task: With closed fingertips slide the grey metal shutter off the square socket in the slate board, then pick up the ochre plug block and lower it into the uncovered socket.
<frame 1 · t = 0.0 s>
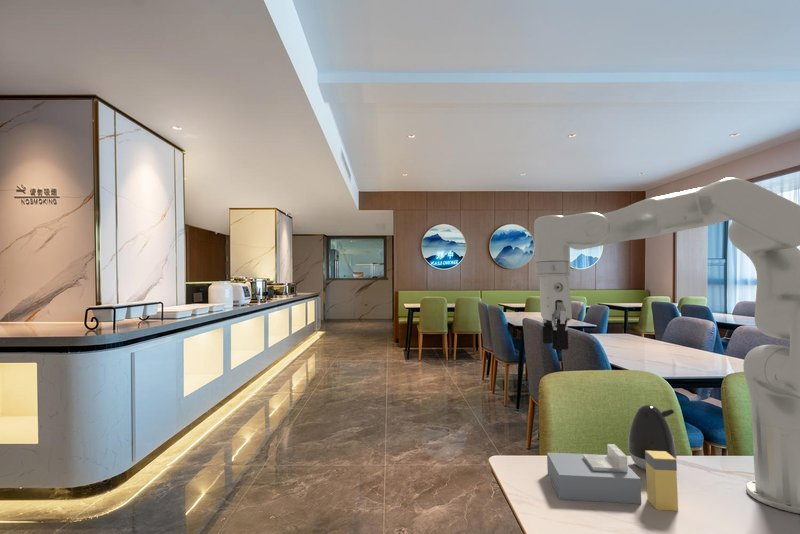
hand: (554, 346, 94), 31 cm above the table, tool pointing down, fingers open, 9 cm apart
shutter: (604, 457, 92), point 7 cm above the table, slide at 0.0 cm
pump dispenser: (652, 469, 101), on the table
socket board: (590, 487, 92), on the table
plug: (662, 505, 84), on the table
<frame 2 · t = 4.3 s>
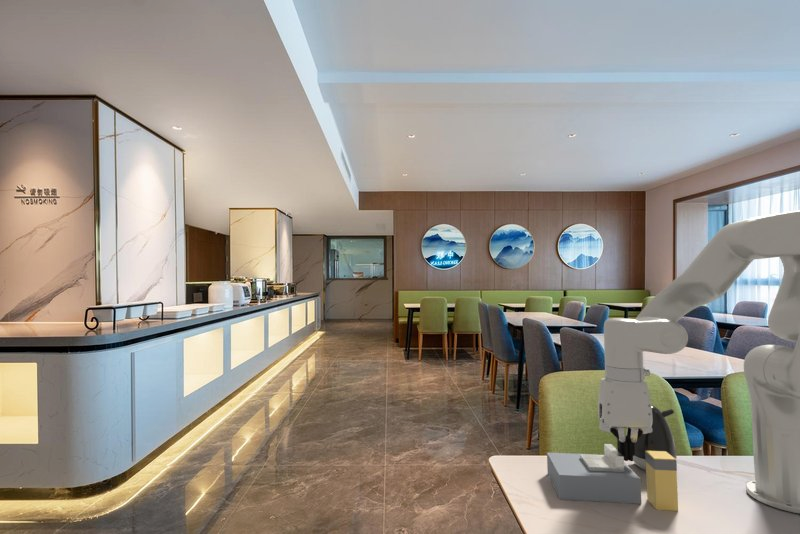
hand: (626, 458, 91), 7 cm above the table, tool pointing down, fingers closed
shutter: (600, 457, 92), point 7 cm above the table, slide at 0.7 cm, touching gripper
everything else where it was.
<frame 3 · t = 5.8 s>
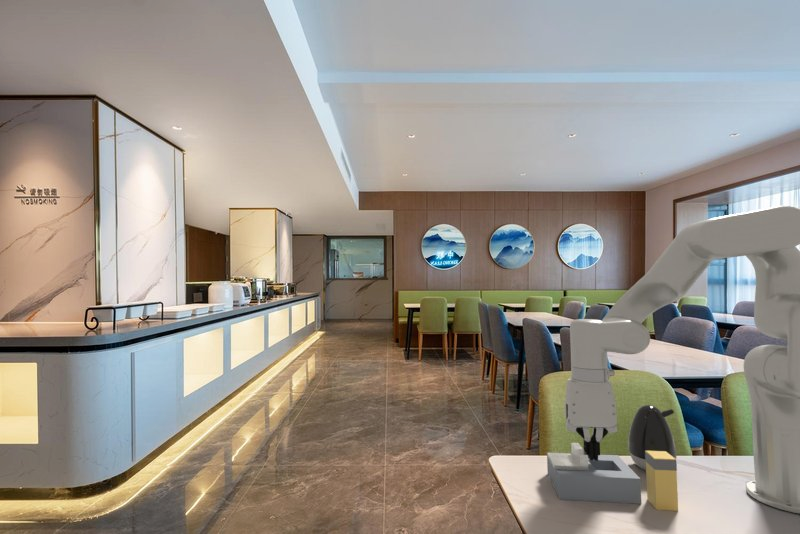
hand: (592, 457, 92), 6 cm above the table, tool pointing down, fingers closed
shutter: (566, 455, 93), point 7 cm above the table, slide at 7.9 cm, touching gripper
everything else where it was.
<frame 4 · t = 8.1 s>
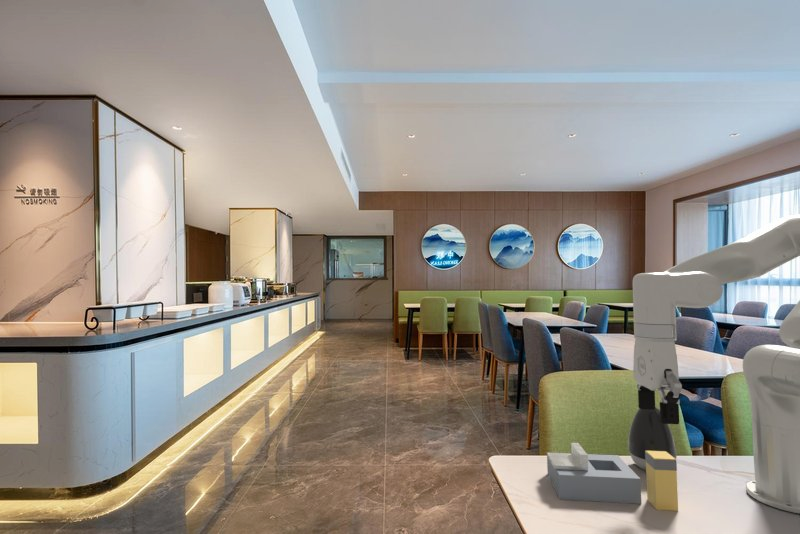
hand: (657, 415, 85), 18 cm above the table, tool pointing down, fingers open, 9 cm apart
shutter: (566, 455, 93), point 7 cm above the table, slide at 7.9 cm
everything else where it was.
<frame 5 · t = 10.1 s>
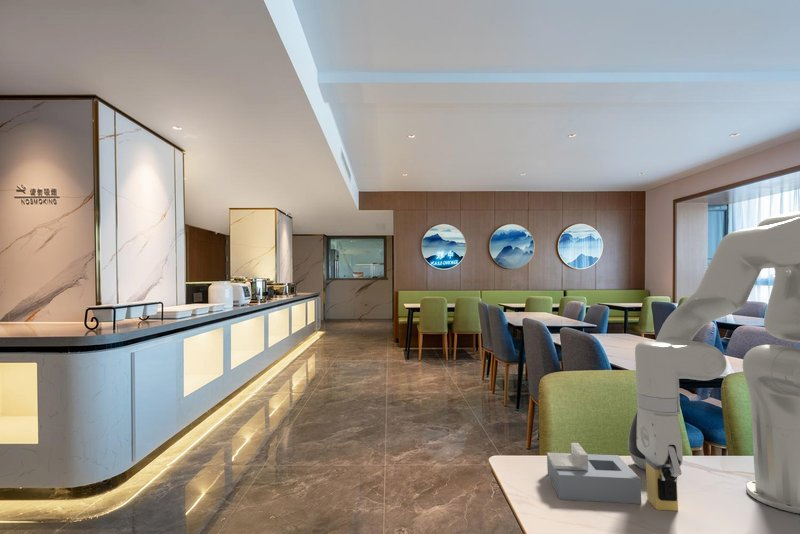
hand: (661, 493, 85), 2 cm above the table, tool pointing down, fingers closed on plug, 4 cm apart
plug: (662, 504, 84), on the table, touching gripper
everything else where it was.
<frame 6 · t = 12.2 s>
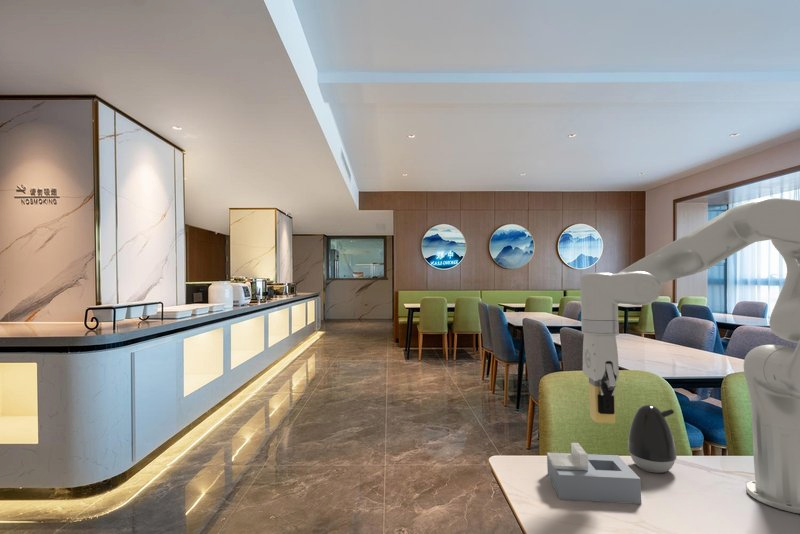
hand: (602, 409, 92), 17 cm above the table, tool pointing down, fingers closed on plug, 4 cm apart
plug: (602, 420, 92), point 15 cm above the table, touching gripper
everything else where it was.
when the fingers open (6 cm above the table, at t = 14.6 s): plug drops 3 cm, resting in socket board.
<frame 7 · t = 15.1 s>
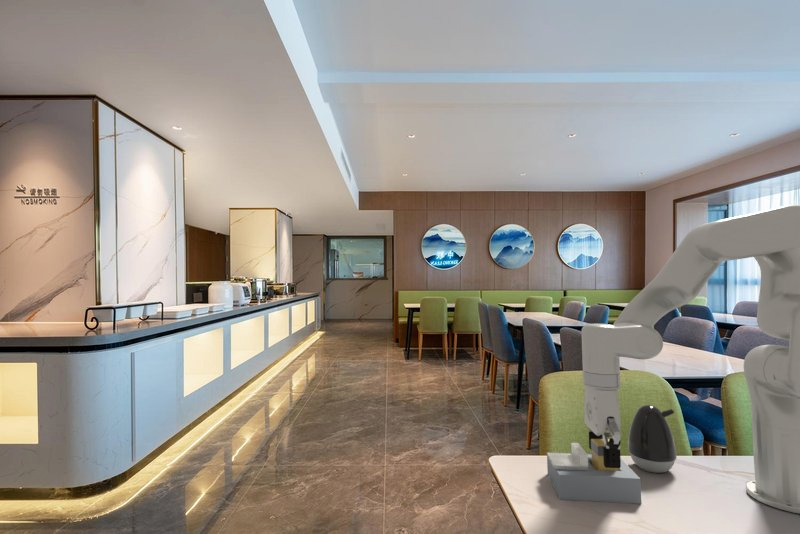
hand: (604, 457, 92), 7 cm above the table, tool pointing down, fingers open, 9 cm apart
plug: (605, 488, 92), resting in socket board
everything else where it was.
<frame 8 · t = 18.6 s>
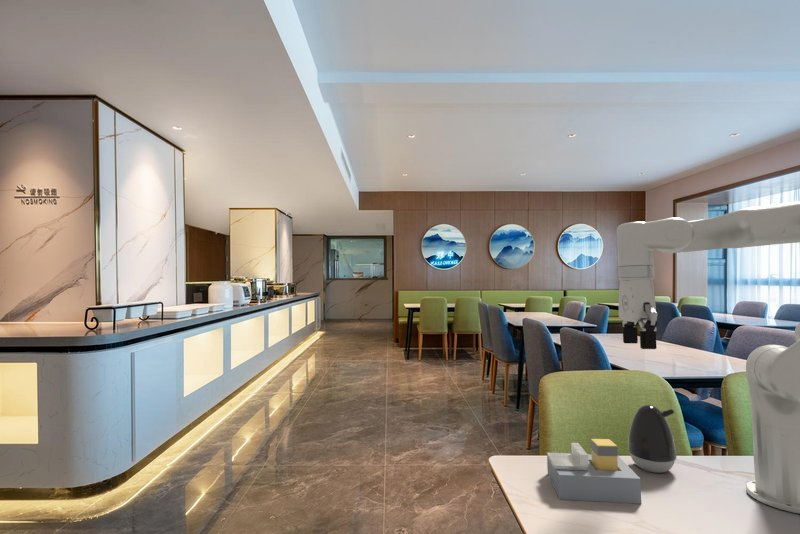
hand: (639, 345, 99), 30 cm above the table, tool pointing down, fingers open, 9 cm apart
nothing on the table moved.
at the end: plug 0.1 cm from the target spot on the socket board, point 0.0 cm above the socket board's base; shutter slide at 7.9 cm; the gripper is holding nothing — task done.
